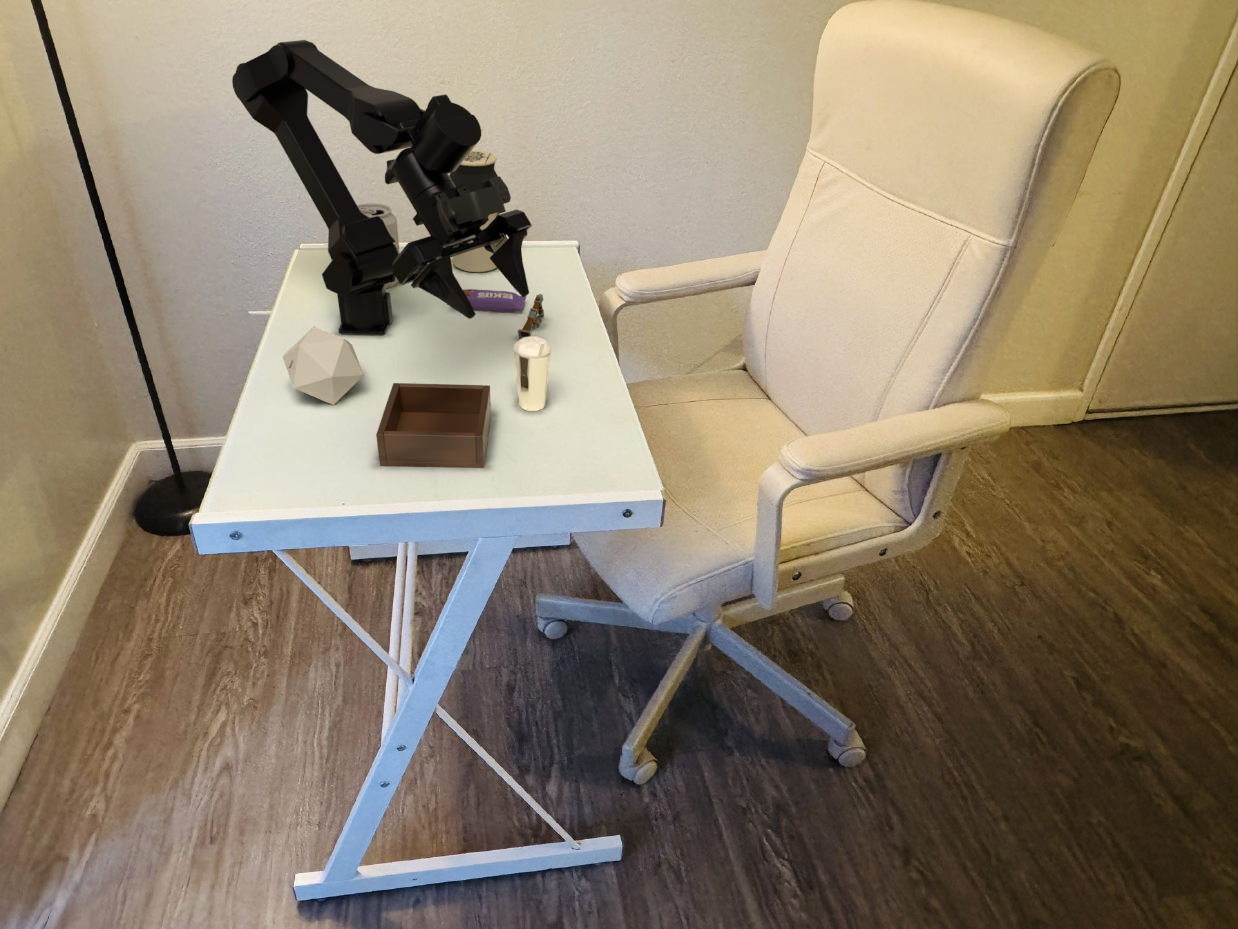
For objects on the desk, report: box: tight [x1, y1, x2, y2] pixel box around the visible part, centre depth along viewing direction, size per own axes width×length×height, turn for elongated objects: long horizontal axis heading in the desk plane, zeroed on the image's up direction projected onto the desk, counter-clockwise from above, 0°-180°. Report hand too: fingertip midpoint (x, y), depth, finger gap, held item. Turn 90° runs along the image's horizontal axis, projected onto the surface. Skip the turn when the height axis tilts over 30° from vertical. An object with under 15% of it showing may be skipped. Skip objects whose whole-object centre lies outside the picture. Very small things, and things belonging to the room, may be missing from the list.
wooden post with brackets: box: [517, 293, 545, 340], centre depth 127 cm, size 2×8×4 cm, turn 165°
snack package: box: [446, 288, 527, 313], centre depth 133 cm, size 12×2×5 cm
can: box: [357, 202, 401, 289], centre depth 136 cm, size 8×8×12 cm
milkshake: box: [513, 335, 552, 412], centre depth 107 cm, size 4×5×10 cm
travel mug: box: [448, 150, 500, 273], centre depth 142 cm, size 8×8×18 cm
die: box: [282, 326, 365, 406], centre depth 107 cm, size 8×9×10 cm
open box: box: [375, 382, 492, 468], centre depth 101 cm, size 12×12×4 cm
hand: (500, 305), depth 106 cm, fingers open, 9 cm apart
